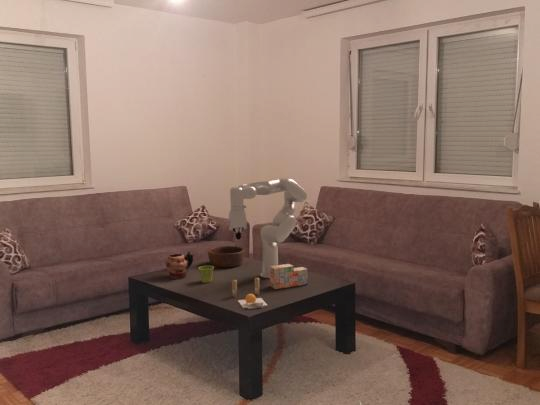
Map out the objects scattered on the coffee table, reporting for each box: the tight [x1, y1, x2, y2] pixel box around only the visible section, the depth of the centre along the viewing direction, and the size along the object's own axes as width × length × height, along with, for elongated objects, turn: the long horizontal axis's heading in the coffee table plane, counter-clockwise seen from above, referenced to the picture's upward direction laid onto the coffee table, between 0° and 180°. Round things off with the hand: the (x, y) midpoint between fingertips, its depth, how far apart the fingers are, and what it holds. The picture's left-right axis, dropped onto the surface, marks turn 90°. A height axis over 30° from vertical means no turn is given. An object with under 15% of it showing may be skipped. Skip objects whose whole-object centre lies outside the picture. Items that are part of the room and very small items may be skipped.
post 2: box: [254, 277, 261, 296], centre depth 304 cm, size 3×3×9 cm
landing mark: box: [237, 297, 268, 309], centre depth 290 cm, size 13×13×1 cm
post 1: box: [231, 279, 238, 298], centre depth 301 cm, size 3×3×9 cm
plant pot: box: [198, 265, 215, 284], centre depth 332 cm, size 9×9×9 cm
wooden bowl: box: [207, 245, 246, 269], centre depth 373 cm, size 25×25×10 cm
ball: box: [244, 293, 257, 303], centre depth 287 cm, size 6×6×6 cm
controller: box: [183, 251, 194, 269], centre depth 366 cm, size 4×12×10 cm, turn 133°
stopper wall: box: [246, 302, 264, 310], centre depth 282 cm, size 8×2×2 cm, turn 106°
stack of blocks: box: [269, 263, 309, 290], centre depth 321 cm, size 21×6×12 cm, turn 114°
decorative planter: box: [165, 253, 188, 279], centre depth 344 cm, size 20×12×14 cm, turn 40°
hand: (238, 239), depth 326 cm, fingers closed
